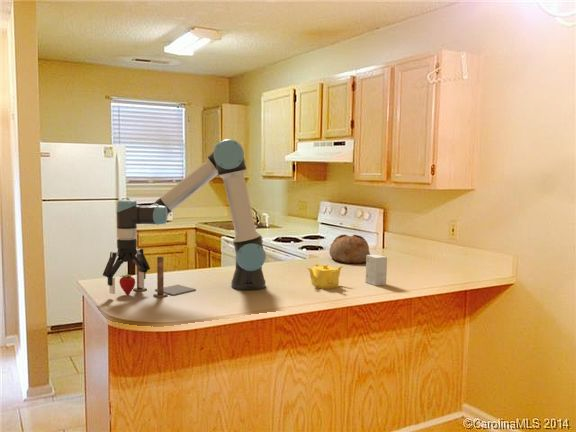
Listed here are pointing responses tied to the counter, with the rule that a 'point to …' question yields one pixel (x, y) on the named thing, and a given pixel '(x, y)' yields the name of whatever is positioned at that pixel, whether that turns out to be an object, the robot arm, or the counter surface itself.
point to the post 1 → (138, 279)
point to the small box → (376, 269)
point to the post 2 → (160, 279)
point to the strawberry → (127, 283)
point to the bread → (349, 249)
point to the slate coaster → (177, 290)
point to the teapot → (325, 276)
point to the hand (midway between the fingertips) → (127, 290)
